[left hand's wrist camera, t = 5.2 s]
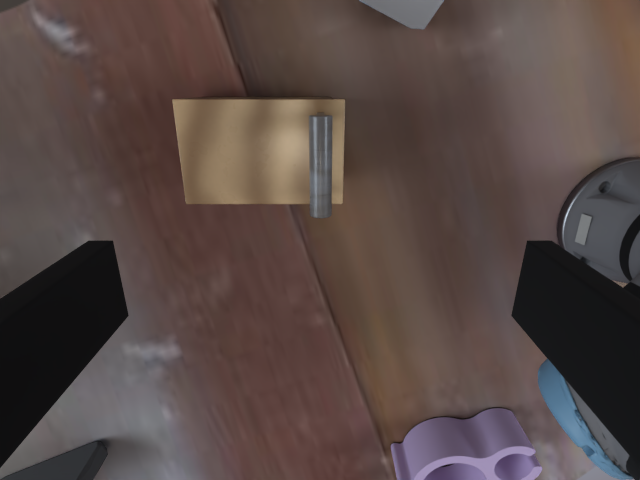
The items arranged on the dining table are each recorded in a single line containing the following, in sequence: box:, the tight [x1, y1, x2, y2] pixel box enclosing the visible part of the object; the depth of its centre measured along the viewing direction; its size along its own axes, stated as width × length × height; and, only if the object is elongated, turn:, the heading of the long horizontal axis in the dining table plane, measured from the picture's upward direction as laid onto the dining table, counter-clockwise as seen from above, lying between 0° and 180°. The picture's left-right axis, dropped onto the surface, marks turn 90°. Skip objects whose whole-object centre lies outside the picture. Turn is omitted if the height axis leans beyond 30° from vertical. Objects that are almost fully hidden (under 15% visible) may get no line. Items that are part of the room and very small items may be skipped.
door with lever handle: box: [172, 99, 345, 218], centre depth 34 cm, size 16×10×9 cm, turn 90°
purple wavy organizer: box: [391, 408, 542, 480], centre depth 60 cm, size 20×12×7 cm, turn 116°
